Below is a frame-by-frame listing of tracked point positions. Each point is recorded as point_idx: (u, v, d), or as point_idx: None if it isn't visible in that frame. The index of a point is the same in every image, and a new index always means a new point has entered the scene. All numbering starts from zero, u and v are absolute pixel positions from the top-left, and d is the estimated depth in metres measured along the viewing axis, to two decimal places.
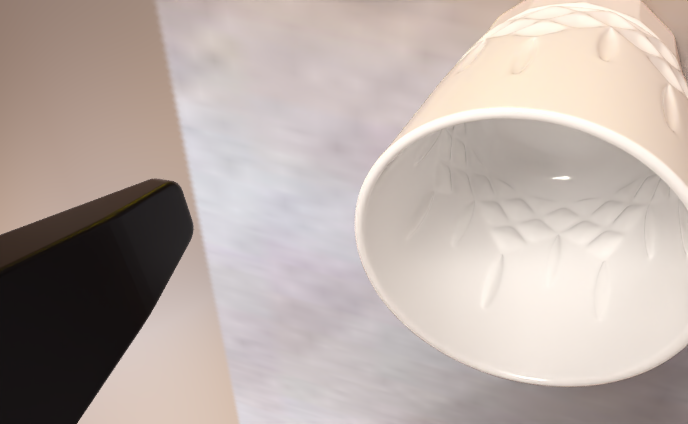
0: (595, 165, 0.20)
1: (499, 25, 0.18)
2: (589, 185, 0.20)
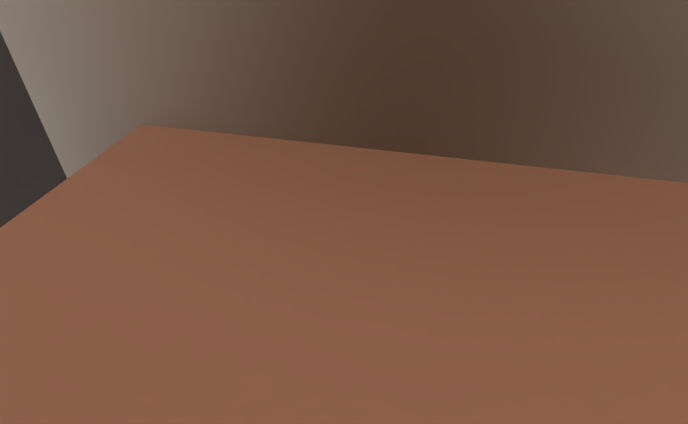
0: None
1: None
2: None
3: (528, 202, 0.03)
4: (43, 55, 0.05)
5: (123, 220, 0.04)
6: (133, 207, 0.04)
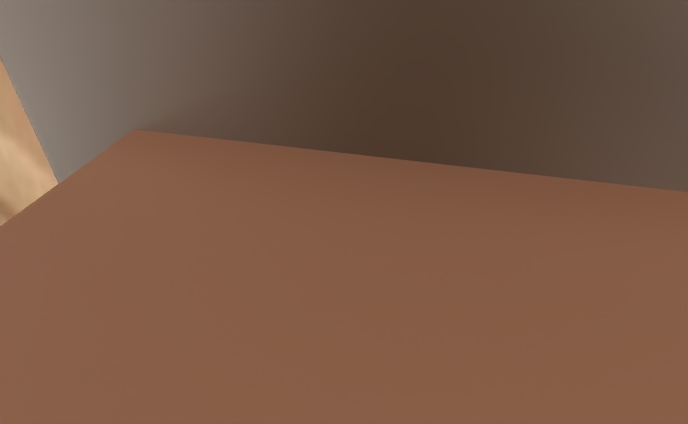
0: None
1: None
2: None
3: (531, 213, 0.03)
4: (32, 57, 0.05)
5: (112, 230, 0.04)
6: (123, 216, 0.04)
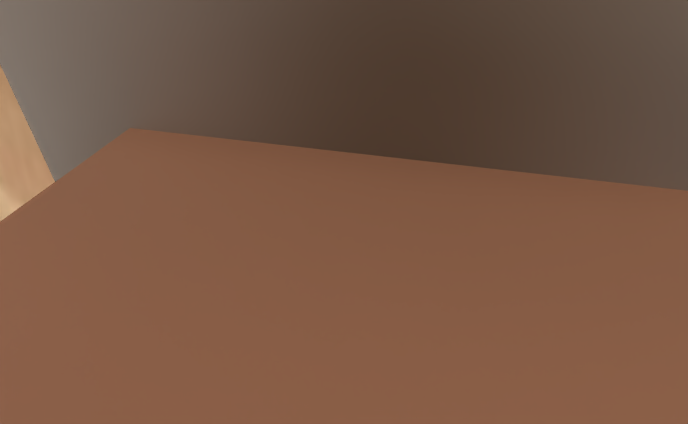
0: None
1: None
2: None
3: (526, 210, 0.03)
4: (29, 57, 0.05)
5: (108, 228, 0.04)
6: (119, 214, 0.04)
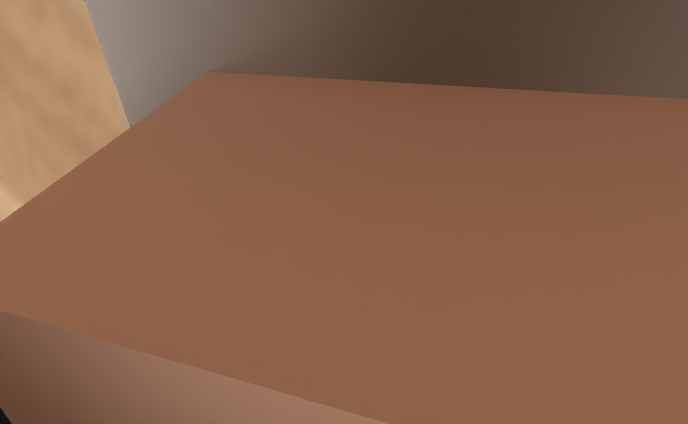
0: None
1: None
2: None
3: (561, 117, 0.04)
4: (121, 16, 0.06)
5: (209, 140, 0.04)
6: (215, 131, 0.05)
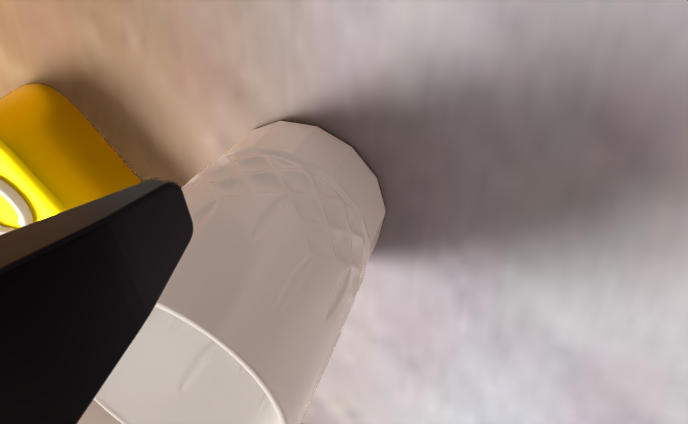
0: None
1: None
2: None
3: None
4: None
5: None
6: None
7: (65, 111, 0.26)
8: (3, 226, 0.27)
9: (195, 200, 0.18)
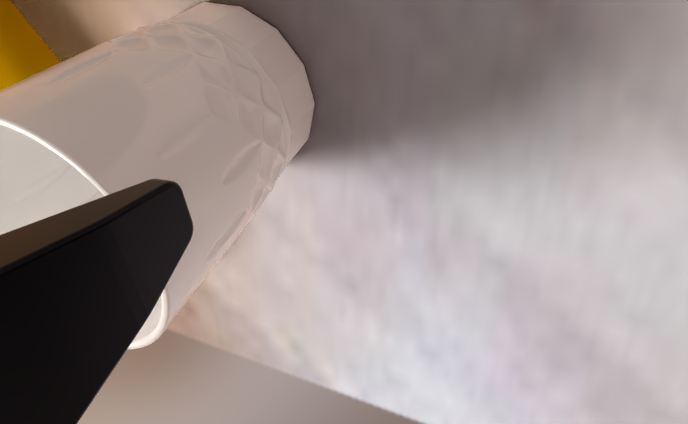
0: None
1: None
2: None
3: None
4: None
5: None
6: None
7: None
8: None
9: (90, 53, 0.17)
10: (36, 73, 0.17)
